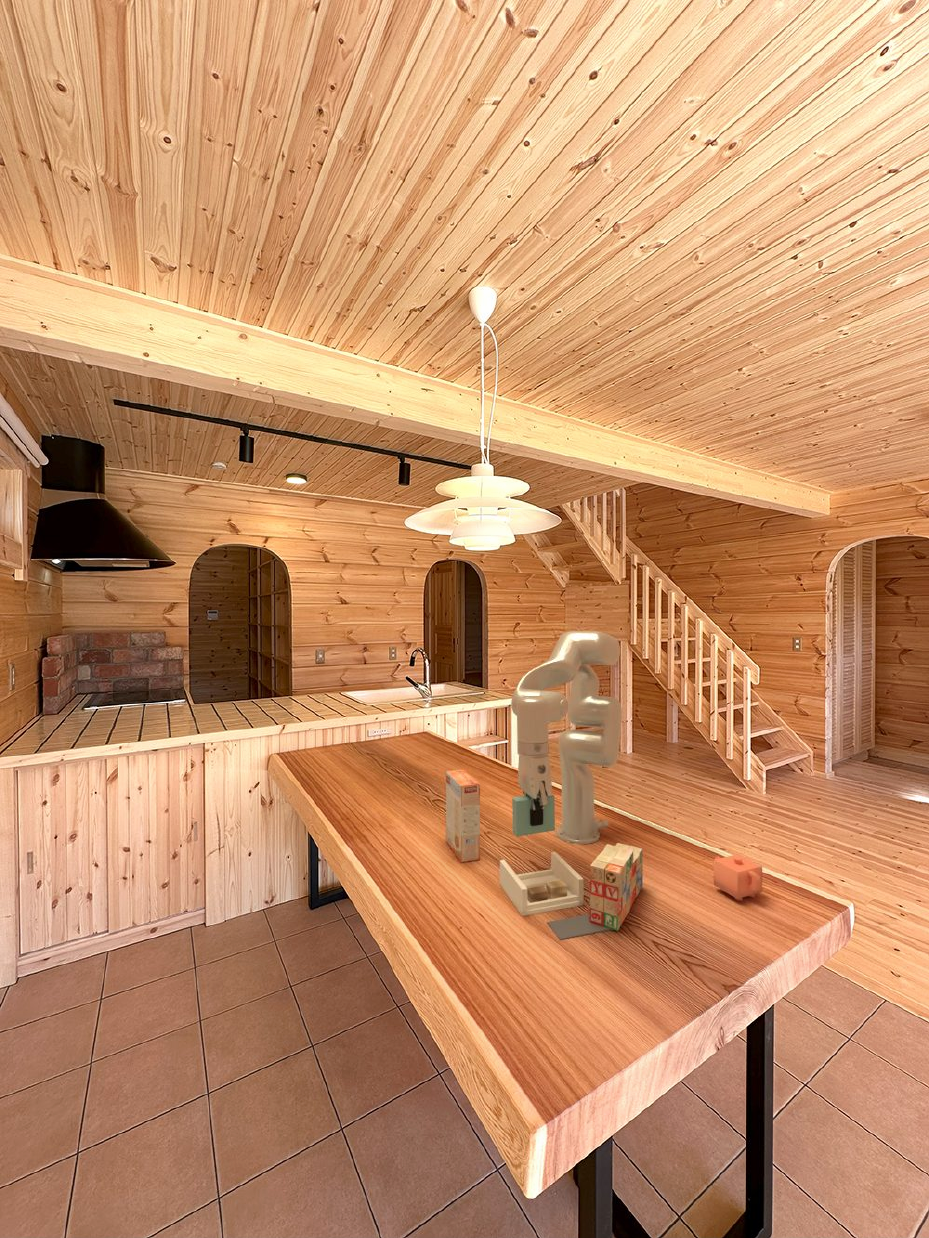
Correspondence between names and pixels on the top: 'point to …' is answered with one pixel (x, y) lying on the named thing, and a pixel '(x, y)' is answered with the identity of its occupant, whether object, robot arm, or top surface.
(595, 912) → the stack of blocks
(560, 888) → the pine offcut
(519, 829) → the teal panel
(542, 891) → the walnut offcut
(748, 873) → the pink cube teapot
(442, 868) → the top surface
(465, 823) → the cracker box
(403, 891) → the top surface
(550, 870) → the rack
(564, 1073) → the top surface
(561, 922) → the charcoal mat
